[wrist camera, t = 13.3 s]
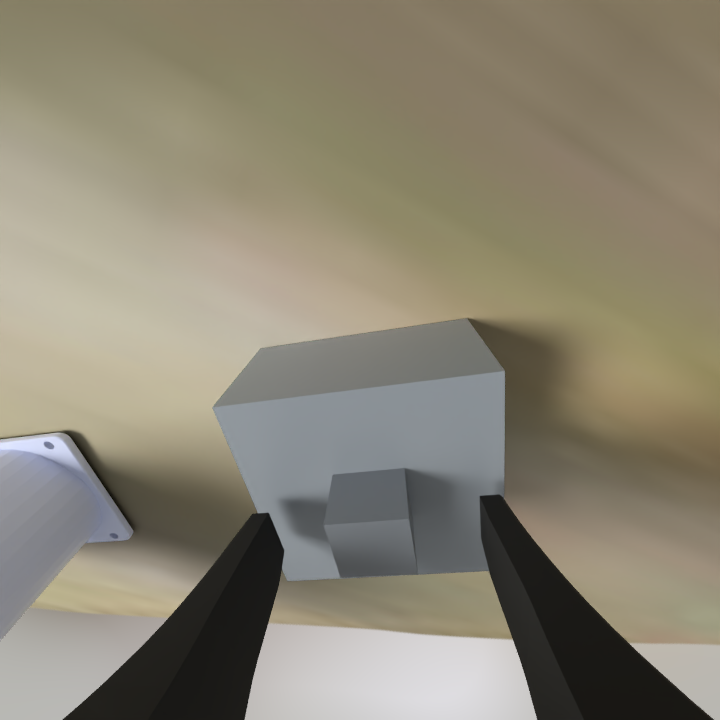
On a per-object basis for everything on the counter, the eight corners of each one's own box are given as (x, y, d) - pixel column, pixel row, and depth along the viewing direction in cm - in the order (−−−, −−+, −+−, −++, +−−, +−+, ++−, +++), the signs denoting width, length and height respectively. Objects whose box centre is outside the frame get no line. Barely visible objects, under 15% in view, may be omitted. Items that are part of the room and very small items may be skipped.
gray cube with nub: (308, 494, 19) (273, 635, 13) (260, 348, 15) (177, 449, 9) (474, 480, 17) (523, 628, 11) (467, 318, 14) (533, 411, 8)
